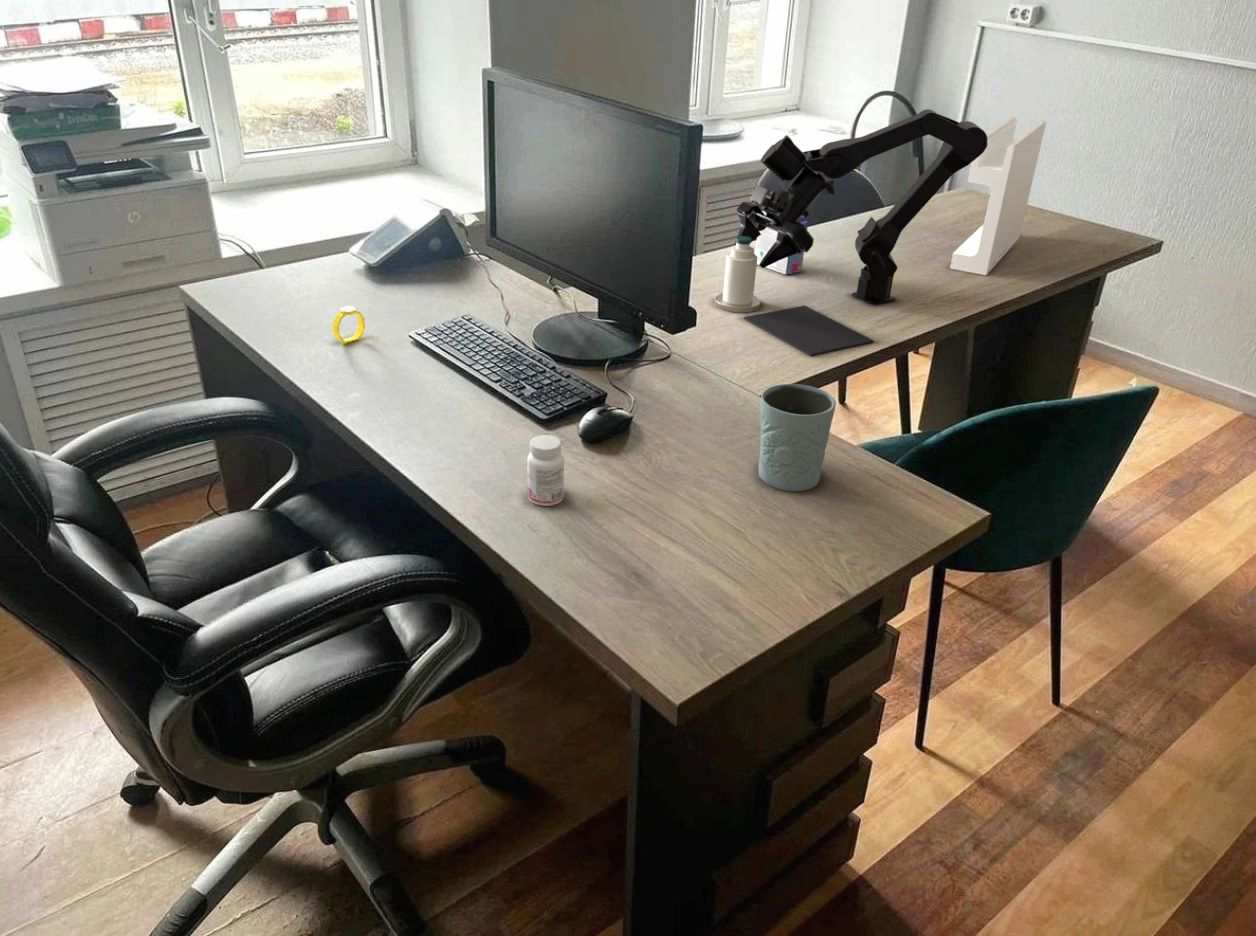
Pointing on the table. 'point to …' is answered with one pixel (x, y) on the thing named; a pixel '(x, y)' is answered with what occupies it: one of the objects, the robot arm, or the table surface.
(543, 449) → the pill bottle
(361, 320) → the yellow ring
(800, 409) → the light blue embossed cup
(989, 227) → the white stand
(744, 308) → the off-white round coaster
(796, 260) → the ink cartridge box
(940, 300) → the table surface
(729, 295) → the bottle
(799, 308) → the felt mat
